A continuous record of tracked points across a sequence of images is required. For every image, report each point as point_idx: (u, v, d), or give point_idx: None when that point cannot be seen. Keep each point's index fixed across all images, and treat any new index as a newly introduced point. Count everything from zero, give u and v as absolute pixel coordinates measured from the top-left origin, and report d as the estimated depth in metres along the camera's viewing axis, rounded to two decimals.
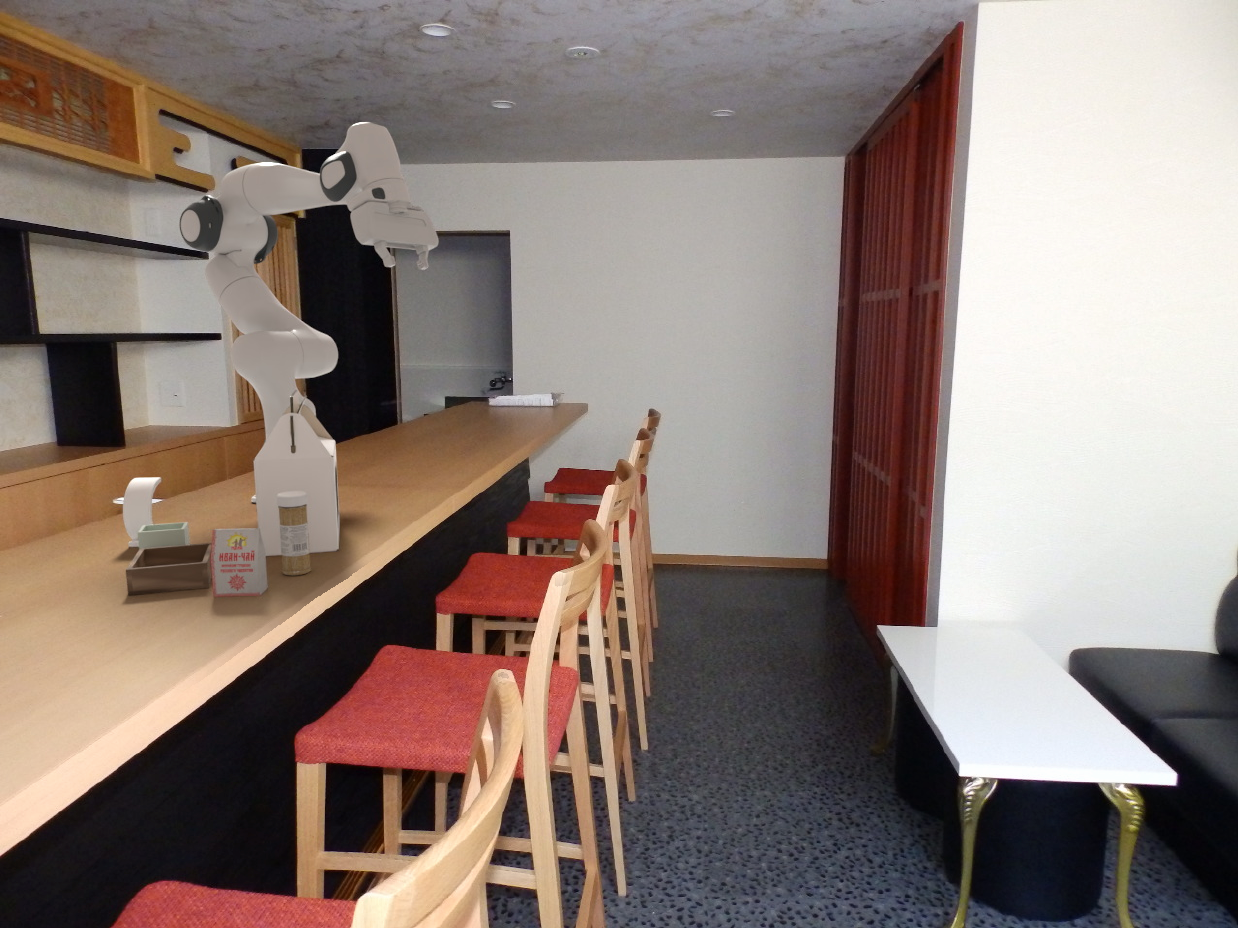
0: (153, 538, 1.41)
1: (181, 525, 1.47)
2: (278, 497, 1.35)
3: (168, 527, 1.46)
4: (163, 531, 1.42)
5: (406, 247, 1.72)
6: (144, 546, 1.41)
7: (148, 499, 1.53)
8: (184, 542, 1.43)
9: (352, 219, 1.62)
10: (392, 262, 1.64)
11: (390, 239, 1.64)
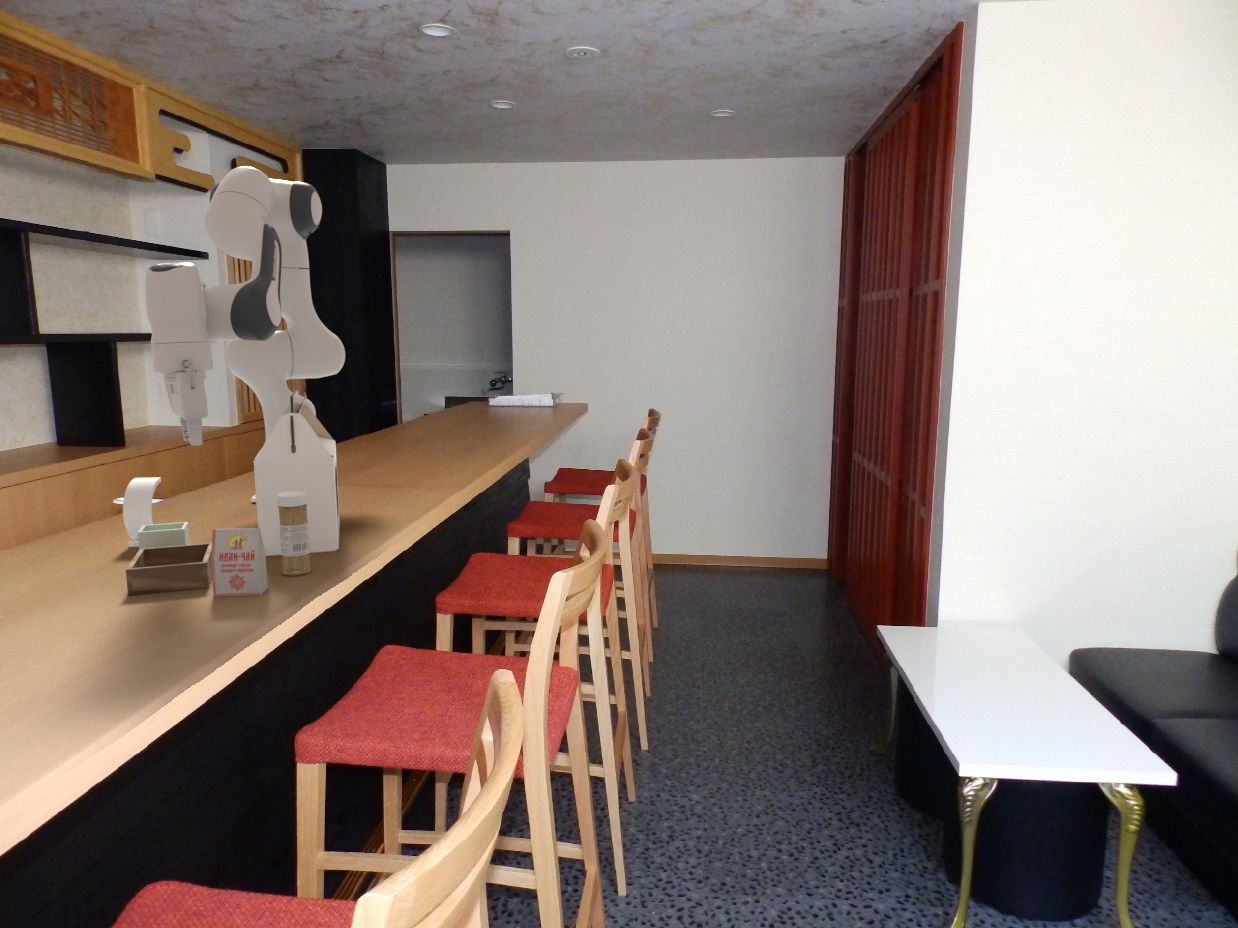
0: (153, 538, 1.41)
1: (181, 525, 1.47)
2: (278, 497, 1.35)
3: (168, 527, 1.46)
4: (163, 531, 1.42)
5: None
6: (144, 546, 1.41)
7: (148, 499, 1.53)
8: (184, 542, 1.43)
9: None
10: (184, 439, 1.45)
11: (176, 414, 1.44)
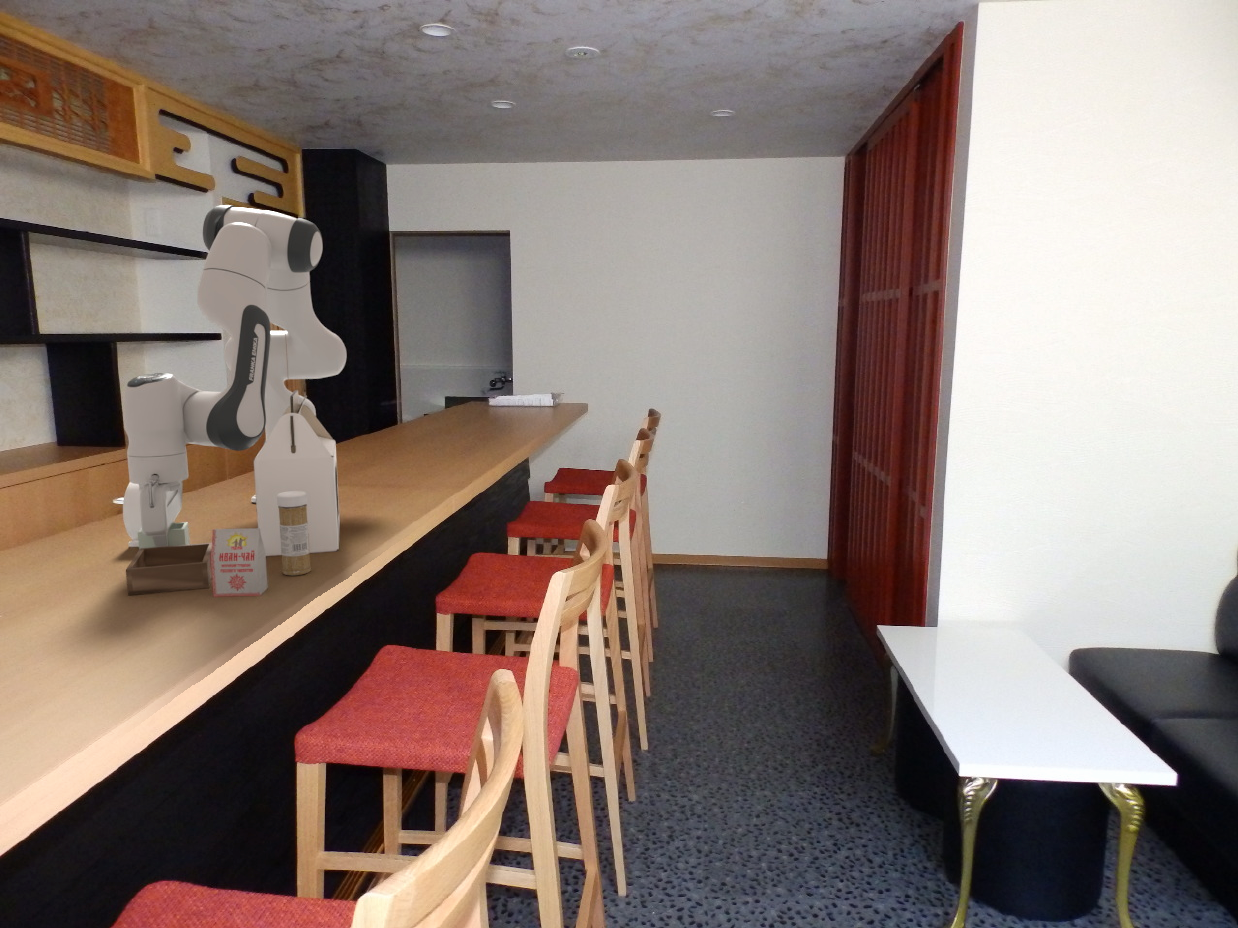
0: None
1: (181, 525, 1.47)
2: (278, 497, 1.35)
3: None
4: None
5: None
6: (144, 546, 1.41)
7: None
8: (184, 542, 1.43)
9: None
10: None
11: None
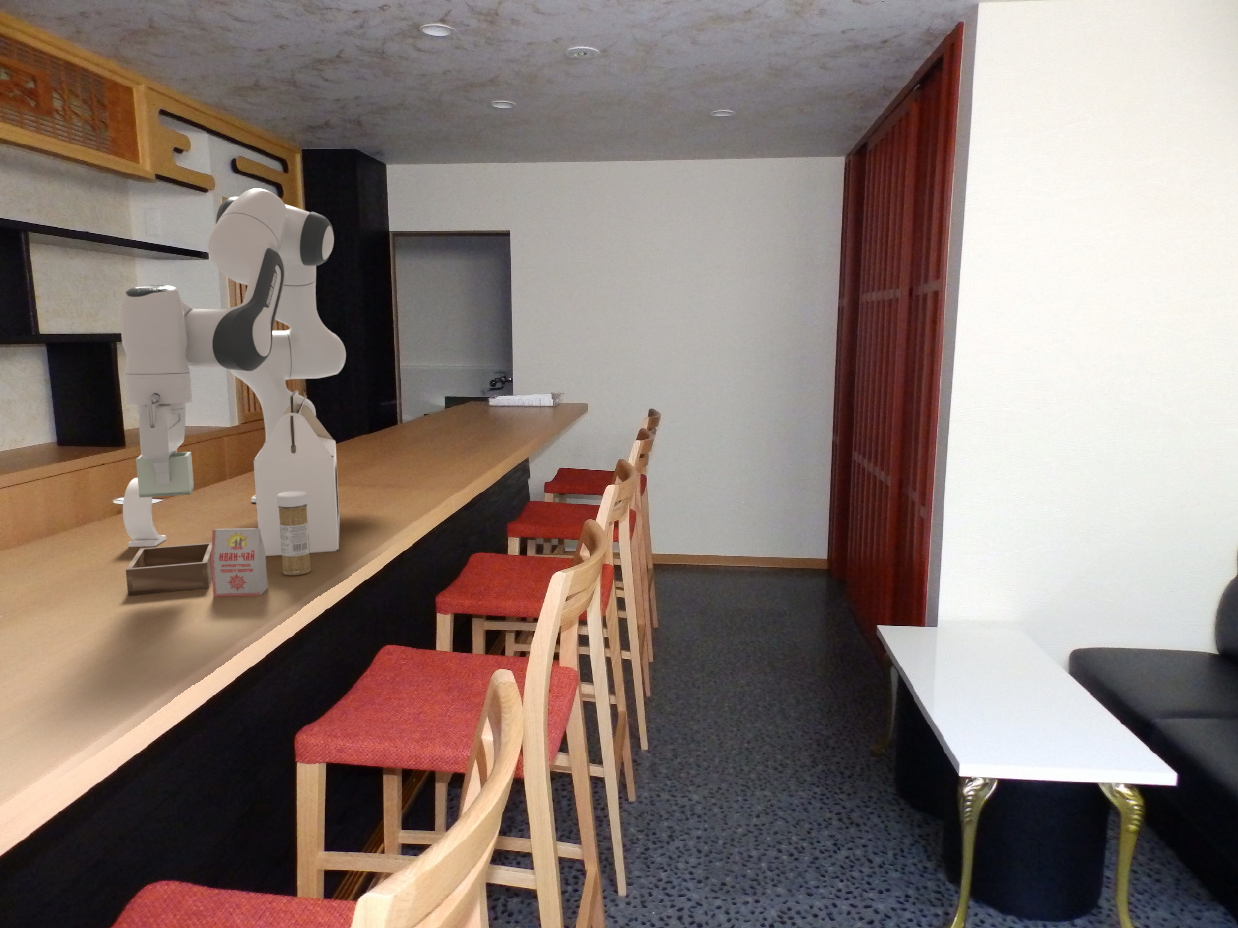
0: None
1: (184, 455, 1.34)
2: (278, 497, 1.35)
3: (170, 457, 1.33)
4: None
5: None
6: (143, 474, 1.28)
7: (148, 499, 1.53)
8: (187, 471, 1.30)
9: None
10: None
11: None
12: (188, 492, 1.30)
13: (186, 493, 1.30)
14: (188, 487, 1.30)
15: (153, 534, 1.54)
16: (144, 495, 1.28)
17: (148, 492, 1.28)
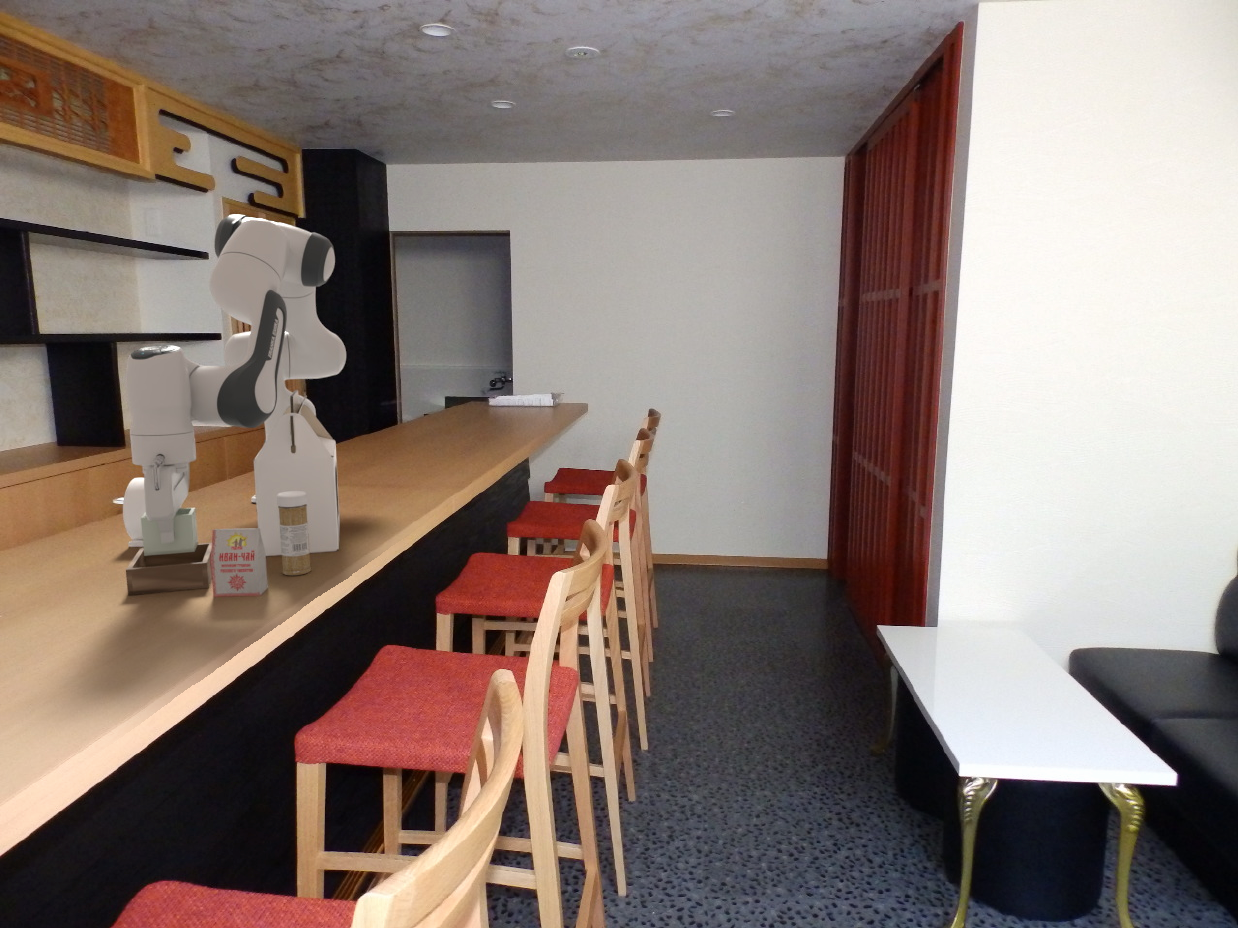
0: None
1: (188, 511, 1.36)
2: (278, 497, 1.35)
3: None
4: None
5: None
6: (148, 533, 1.29)
7: None
8: (191, 529, 1.32)
9: None
10: None
11: None
12: (192, 549, 1.32)
13: (190, 550, 1.32)
14: (192, 544, 1.32)
15: None
16: (149, 553, 1.30)
17: (153, 550, 1.30)
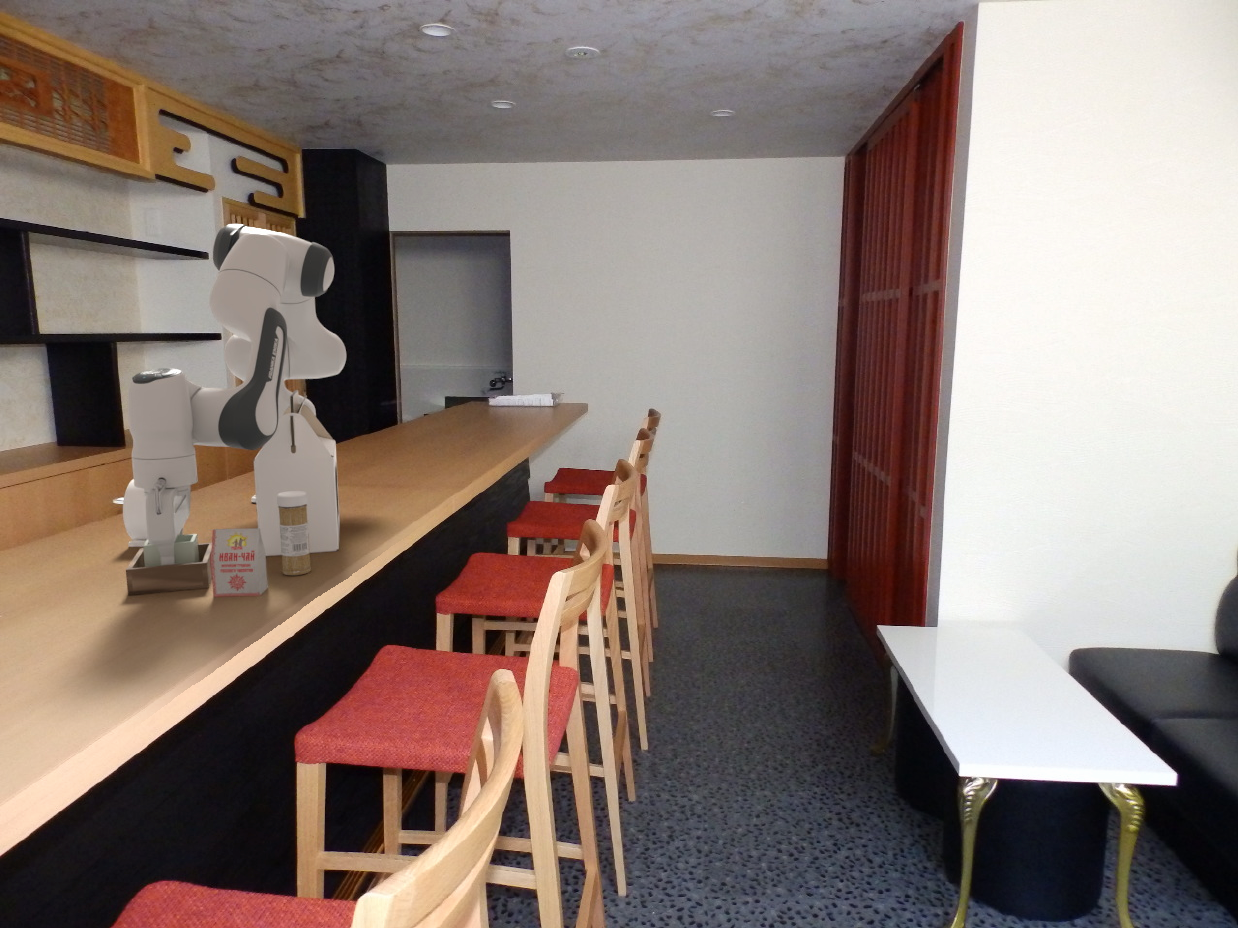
0: None
1: (190, 537, 1.36)
2: (278, 497, 1.35)
3: (176, 539, 1.36)
4: None
5: None
6: (150, 560, 1.30)
7: None
8: (193, 556, 1.32)
9: None
10: None
11: None
12: None
13: None
14: None
15: None
16: None
17: None
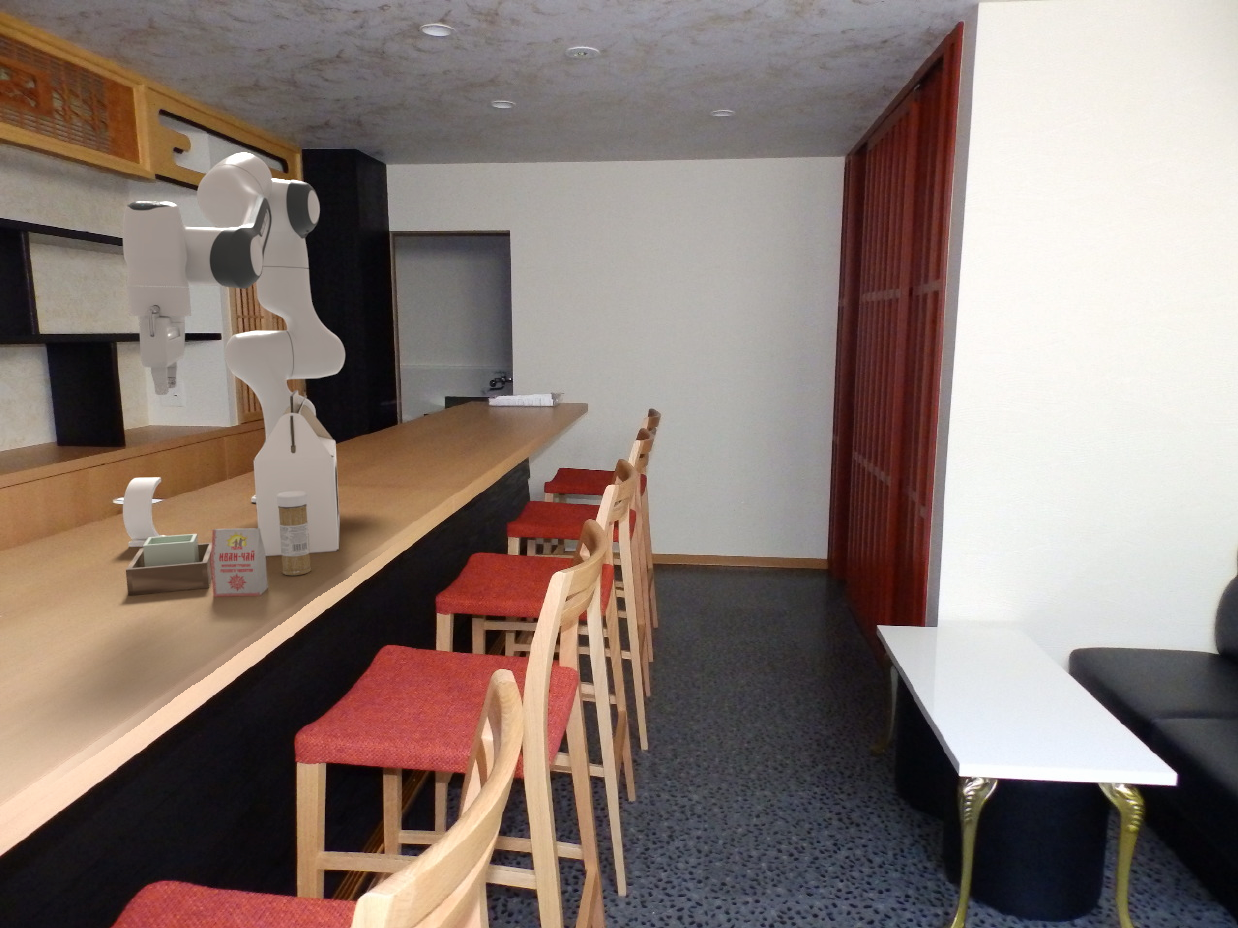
0: (160, 551, 1.31)
1: (190, 537, 1.36)
2: (278, 497, 1.35)
3: (176, 539, 1.36)
4: (170, 544, 1.31)
5: None
6: (150, 560, 1.30)
7: (148, 499, 1.53)
8: (193, 556, 1.32)
9: None
10: None
11: None
12: None
13: None
14: None
15: (153, 534, 1.54)
16: None
17: None
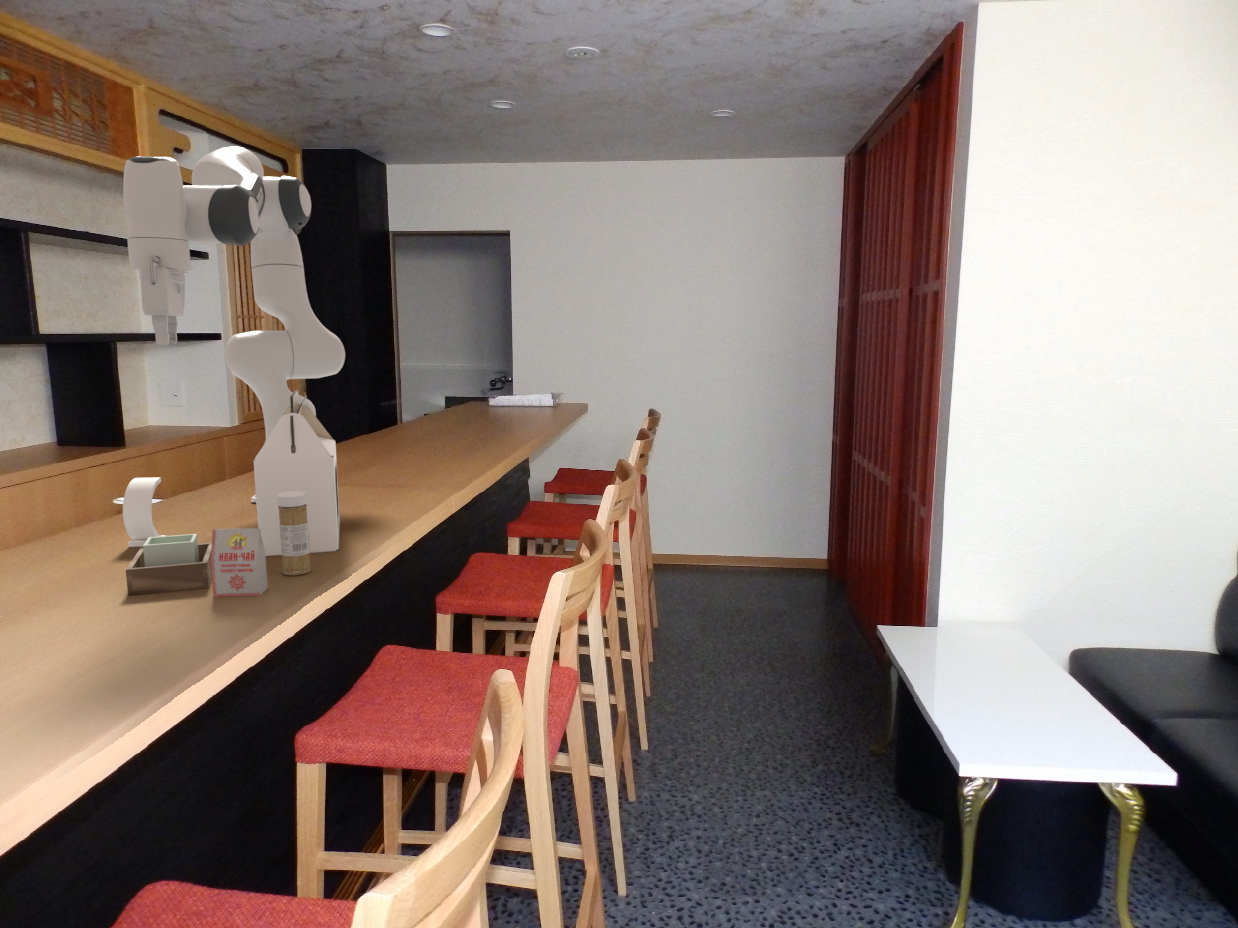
0: (160, 551, 1.31)
1: (190, 537, 1.36)
2: (278, 497, 1.35)
3: (176, 539, 1.36)
4: (170, 544, 1.31)
5: None
6: (150, 560, 1.30)
7: (148, 499, 1.53)
8: (193, 556, 1.32)
9: None
10: None
11: None
12: None
13: None
14: None
15: (153, 534, 1.54)
16: None
17: None
